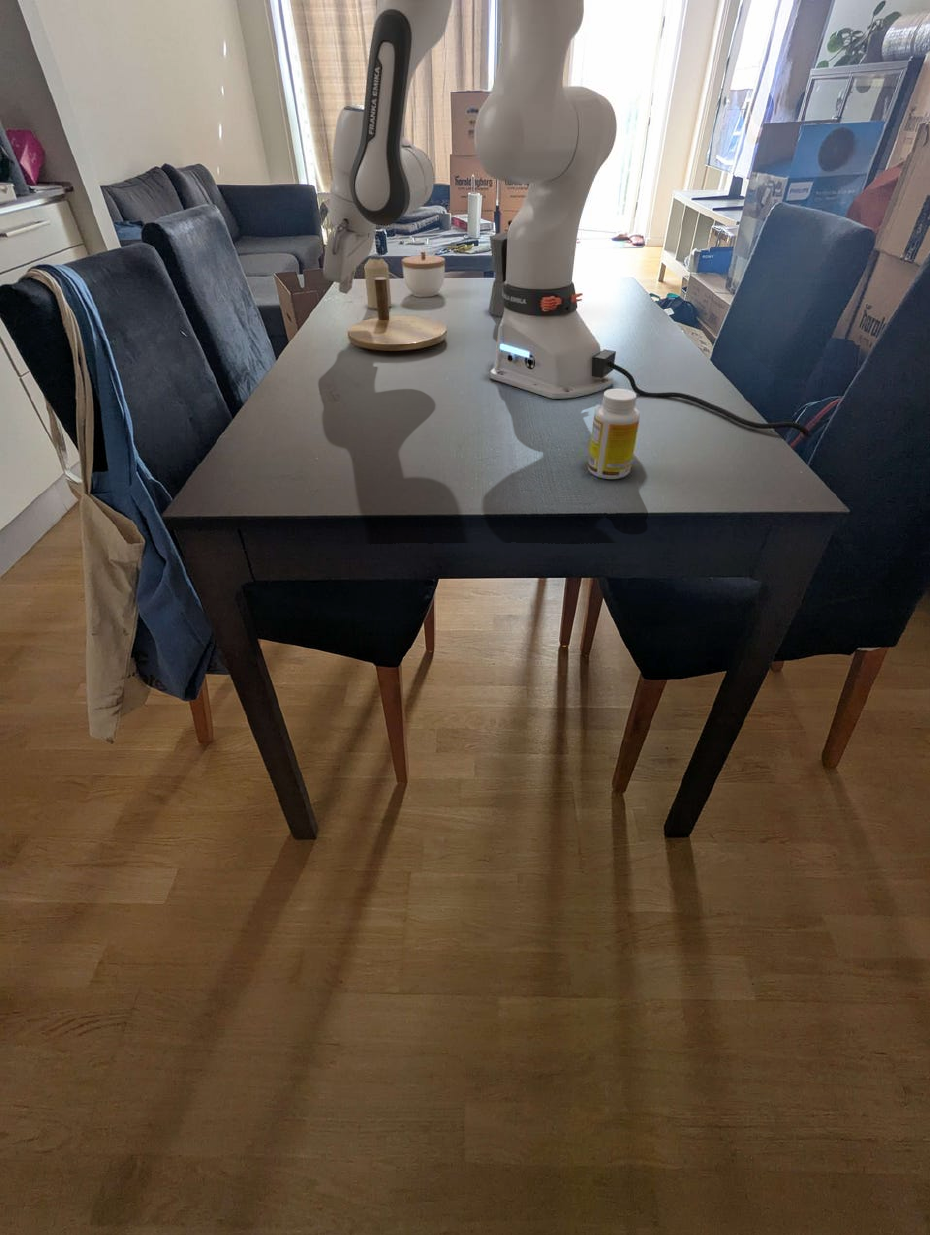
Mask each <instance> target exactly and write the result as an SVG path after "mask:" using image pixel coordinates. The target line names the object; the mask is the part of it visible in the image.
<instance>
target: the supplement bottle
mask: <svg viewBox="0 0 930 1235" xmlns="http://www.w3.org/2000/svg"><path fill="white" fill-rule="evenodd" d="M637 395H638V394H637V393H636V392H635V391H634V390H629V389H626V388H610V389H606V390H605V391H604V392H603V396H602V401H601V405H599V406H597V408H595V410H594V414H593V421H592V428H591V437H590V445H589V454H588V460H587V469H588V471H589V473H591V474H592V475H593V476H594V477H598V478H599V479H604V480H618V479H622V478H624V477H626V476H627V475H629V473H630V472H631V468H632V463H633V458H634V452H635V446H636V440H637V435H638V430H639V425H640V424H639V423H640V418H641V413H640V411H639V409H638V408H637V407H636V404H637Z"/></svg>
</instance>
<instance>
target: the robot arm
mask: <svg viewBox="0 0 930 1235" xmlns="http://www.w3.org/2000/svg"><path fill="white" fill-rule="evenodd" d="M499 3H500V4H499V7H500V46H499V47H500V48H499V56H498V62H497V69H496V74H495V78H494V81H493V83H492V84H493V85H492V87H491V90H490V92H489V95H488V97H487V98H486V99H485V101H484V102H483V104H482V105H481V107H480V108H479V111H478V114H477V117H476V120H475V124H474V131H473V132H474V134H473V138H474V149H475V153H476V154H475V155H476V157H477V161H478V163H479V165H480V167H481V168H482V171H483V172H484V173H485V174H486V175H487V176H489V177H490V178H492V179H494V180H497V181H502V182H504V183H508V184H509V183H510V184H512V185H513V184H514V185H526V184H528V188H527V191H526V195H525V197H524V201H523V203H522V204H521V207H520V209H519V211H518V212H517V213H516V215H515V216H514V217H513V219H511V220H512V222H511V224H510V226H508V229H507V231H508V234H507V263H506V281H505V282H504V283H503V290H502V296H503V302H502V304H503V306H504V307H505V309H504V314H503V317H501V321H500V324H499V325H498V330H497V338H496V347H495V348H496V349H495V356H494V357H495V358H494V365H493V367H492V368H491V369H490V371H489V378H490V379H492V380H493V381H497V382H500V383H503V384H506V385H510V386H513V387H514V388H515V387H516V388H518V389H522V390H525V391H527V392H531V393H534V394H537V395H540V396H543V397H545V398H548V399H552V400H553V399H554V400H557V399H559V400H560V399H562V400H563V399H564V400H565V399H572V398H578V397H583V396H589V395H592V394H594V393H598V392H600V391H603V390H605V389H607V388H609V387H610V386H612V384H613V381H614V376H612V375H610V373H612V372H613V371H614V370H615V371H616V372H619V373H621V374H622V376H624V377H625V378H627V379H628V381H629V383H630V386H631V390H632V391H633V392H634V393H635V394H636V395H639V396H641V397H647V398H678V399H679V398H680V399H683V400H687V401H690V402H693V403H696V404H697V405H698V404H699V405H701V406H702V407H704V408H707V409H710V410H712V411H714V412H717V413H719V414H721V415H723V416H725V417H727V418H729V419H731V420H732V421H734V422H736V423H739V424H741V425H743V426H746V427H750V428H754V429H759V430H769V429H770V430H772V429H781V428H790V429H795V430H797V431H799V432H801V433H802V435H803V436H804V437H808V438H810V437H812V434H811V432H810V431H809V430H808V428H807V427H806V426H804V425H802V424H800V423H798V422H792V421H783V422H781V421H780V422H771V423H769V422H768V423H762V422H755V421H751V420H748V419H746V418H743V417H741V416H739V415H736V414H735V413H733V412H731V411H729V410H727V409H725V408H723V407H721V406H718V405H716V404H714V403H711V402H709V401H706V400H704V399H702V398H699V397H696V396H693V395H690V394H686V393H683V392H676V391H674V392H673V391H671V392H670V391H669V392H648V391H644V390H642V389H640V388H639V387H638V386H637V384H636V381H635V379H634V377H633V375H632V374H631V373H630V372H629V371H628V370H626V369H625V368H624V367H622V366H620V365H618V364H616V363H615V362H616V356H617V355H616V354H617V351H616V350H610V349H601V344H600V343H599V341H598V340H597V338H596V337H595V336H594V335H593V333H592V332H591V330H590V329H589V327H588V326H587V324H586V322H585V321H584V320H583V318H582V317H581V315H580V314H579V312H578V310H577V309H578V302H582V301H583V299H582V298H579V297H581V296H584V293H583V292H580V293H576V288H575V282H573V275H574V267H575V266H574V265H575V256H576V249H577V239H578V232H579V227H580V224H581V219H582V215H583V212H584V208H585V205H586V202H587V199H588V197H589V195H590V194H589V193H590V192H591V188H592V185H593V183H594V181H595V178H596V176H597V175H598V172H599V170H600V168H602V166H603V164H604V163H605V162H606V161H607V159H608V158H609V157H610V154H611V153H612V151H613V148H614V145H615V142H616V138H617V129H618V125H617V116H616V112H615V108H614V107H613V105H612V103H611V102H610V101H609V99H608V98H606V97H605V96H604V95H602V94H601V93H599V92H597V91H595V90H592V89H590V88H587V87H584V86H579V85H578V86H576V85H575V86H573V85H572V86H571V85H570V86H569V85H564V83H563V82H564V71H565V65H566V59H567V54H568V51H569V46H570V45H571V42H572V40H573V39H574V38H575V36H576V35H577V34H578V32H579V30H580V29H581V26H582V23H583V20H584V16H585V15H584V14H585V1H584V0H499ZM452 5H453V0H376V11H375V18H374V24H373V29H372V35H371V36H372V37H371V42H370V47H369V56H368V63H367V73H366V83H365V84H366V85H365V93H364V94H365V95H364V104H350V105H346V106H345V107H343V108H342V109H341V110H340V111H339V115H338V117H337V121H336V126H335V131H334V139H333V147H332V159H331V161H332V167H333V176H332V180H331V183H330V187H329V200H328V213H327V219H328V220H329V222H330V223H332V224H333V225H334V226H333V230H332V231H330V232H329V233H328V236H327V239H326V244H325V251H324V258H323V259H324V260H323V269H322V272H323V273H322V274H323V277H324V279H326V280H328V281H332V282H335V283H338V284H339V285H338V291H339V292H340V293H342V294H345V295H346V294H348V293H349V292H350V291H351V290H352V288H353V281H354V278H355V276H356V271H357V268H358V267H359V266H360V265H361V264H362V263H363V262H364V261H365V260H366V259H367V258H368V257H369V255H370V254H371V251H372V248H373V245H374V244H373V243H374V239H375V234H376V228H377V226H378V227H379V226H380V227H384V226H385V227H386V226H390V225H393V224H394V223H396V222H397V221H398V220H400V219H401V218H403V217H404V216H406V215H409V214H411V213H413V212H414V211H416V210H418V209H420V208H421V207H423V206H425V205H426V204H427V203H428V202H429V200H430V199H431V197H432V195H433V193H434V190H435V172H434V168H433V164H432V162H431V160H430V158H429V157H428V155H427V154H426V153H425V152H424V151H423V150H422V149H420V148H418V147H416V146H415V145H414V144H412V143H411V142H410V141H409V140H408V139H406V137H404V129H405V122H406V121H405V120H406V113H407V106H408V97H409V91H410V86H411V83H412V79H413V77H414V75H415V73H416V71H417V69H418V68H419V66H420V64H421V63H422V61H423V60H424V59H425V58H426V56H427V55H428V54H429V53H430V52H431V51H432V49H433V48H435V47H436V46H437V45H438V43H439V42H440V41H441V40H442V38H443V36H444V35H445V33H446V30H447V26H448V24H449V23H448V22H449V18H450V14H451V10H452Z"/></svg>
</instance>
